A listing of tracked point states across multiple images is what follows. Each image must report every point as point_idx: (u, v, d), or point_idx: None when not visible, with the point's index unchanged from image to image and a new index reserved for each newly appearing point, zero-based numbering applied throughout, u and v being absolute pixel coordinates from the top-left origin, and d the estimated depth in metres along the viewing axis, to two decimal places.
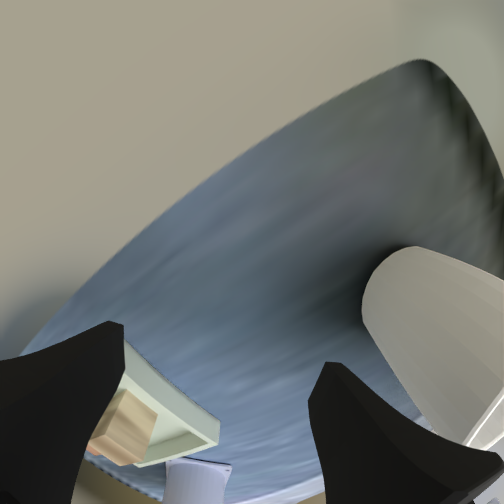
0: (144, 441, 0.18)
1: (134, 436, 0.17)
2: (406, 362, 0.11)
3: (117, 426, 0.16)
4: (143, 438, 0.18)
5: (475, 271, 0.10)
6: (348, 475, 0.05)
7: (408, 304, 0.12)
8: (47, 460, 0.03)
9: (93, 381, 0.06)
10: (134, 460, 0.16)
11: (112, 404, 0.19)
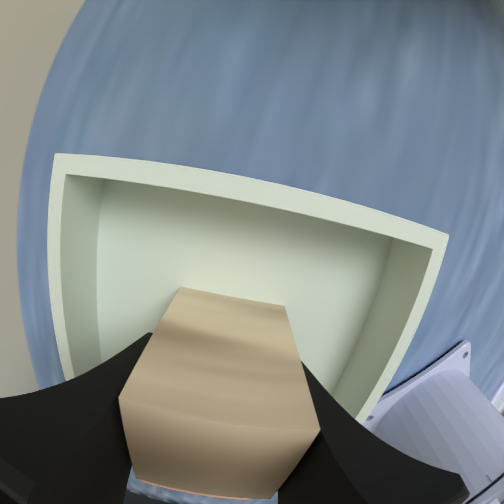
0: (285, 368, 0.06)
1: (244, 368, 0.06)
2: None
3: (170, 360, 0.06)
4: (278, 363, 0.07)
5: None
6: (295, 479, 0.05)
7: None
8: (105, 488, 0.03)
9: None
10: (289, 452, 0.05)
11: None
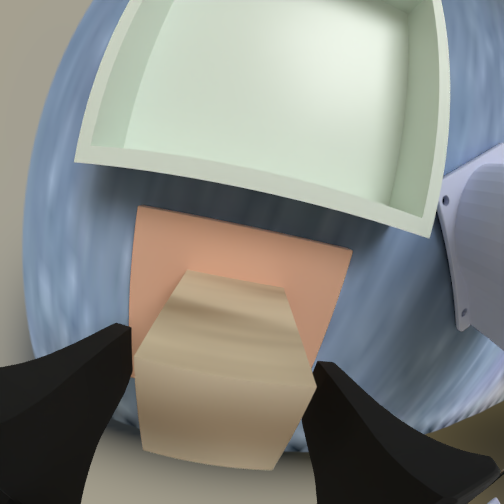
0: (284, 337, 0.07)
1: (247, 335, 0.07)
2: None
3: (179, 327, 0.07)
4: (278, 332, 0.07)
5: None
6: (338, 476, 0.05)
7: None
8: (57, 466, 0.03)
9: (102, 384, 0.06)
10: (290, 411, 0.05)
11: None
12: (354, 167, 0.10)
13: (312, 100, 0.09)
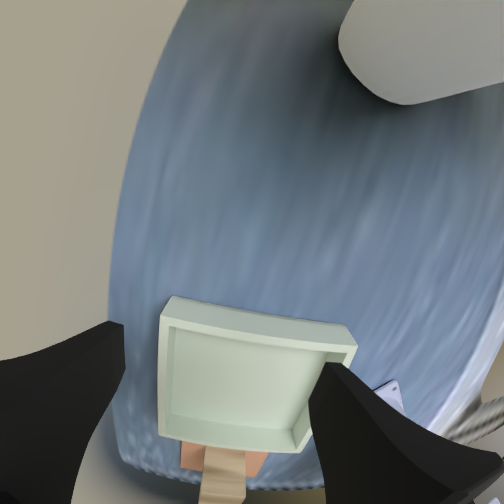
0: (240, 479, 0.18)
1: (229, 479, 0.18)
2: (414, 35, 0.07)
3: (209, 479, 0.17)
4: (238, 477, 0.18)
5: None
6: (348, 475, 0.05)
7: (367, 11, 0.08)
8: (47, 460, 0.03)
9: (93, 381, 0.06)
10: (240, 499, 0.16)
11: (203, 463, 0.21)
12: (275, 420, 0.21)
13: (256, 402, 0.20)
